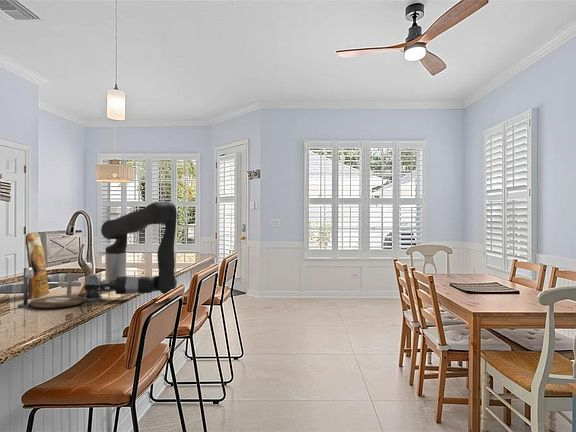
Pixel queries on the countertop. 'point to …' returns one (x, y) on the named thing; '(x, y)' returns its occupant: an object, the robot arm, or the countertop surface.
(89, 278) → the grey canister
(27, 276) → the dial stand
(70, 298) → the disc
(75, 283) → the pipe connector
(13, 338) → the countertop surface
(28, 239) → the pancake mix bag
